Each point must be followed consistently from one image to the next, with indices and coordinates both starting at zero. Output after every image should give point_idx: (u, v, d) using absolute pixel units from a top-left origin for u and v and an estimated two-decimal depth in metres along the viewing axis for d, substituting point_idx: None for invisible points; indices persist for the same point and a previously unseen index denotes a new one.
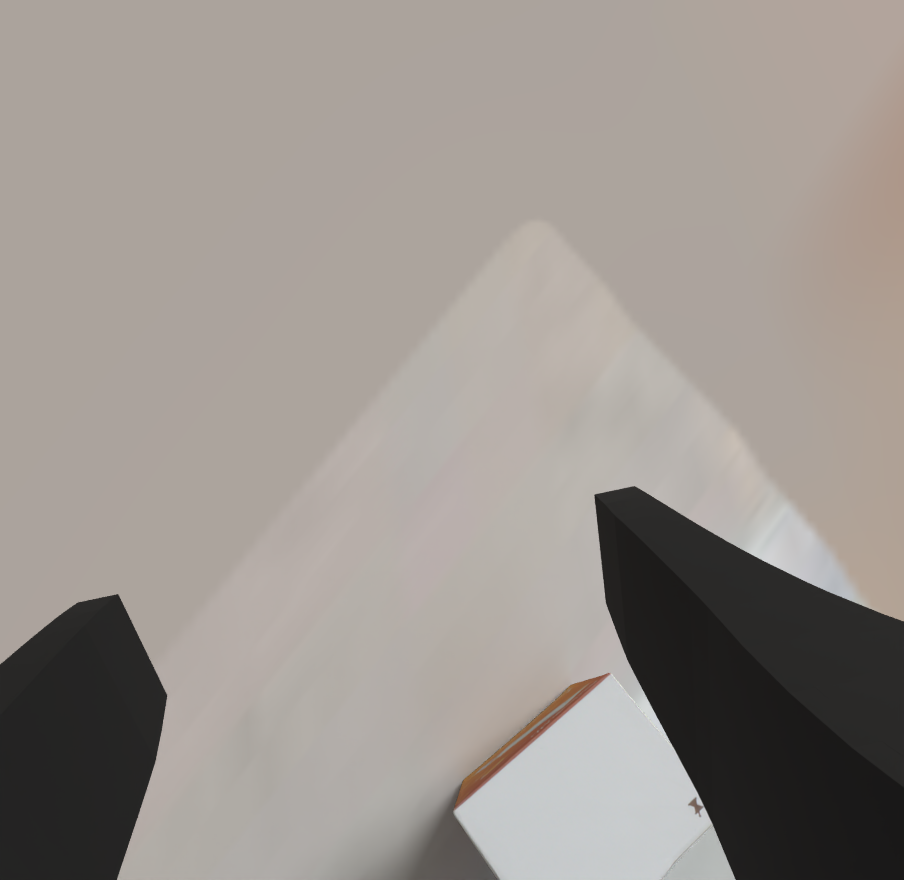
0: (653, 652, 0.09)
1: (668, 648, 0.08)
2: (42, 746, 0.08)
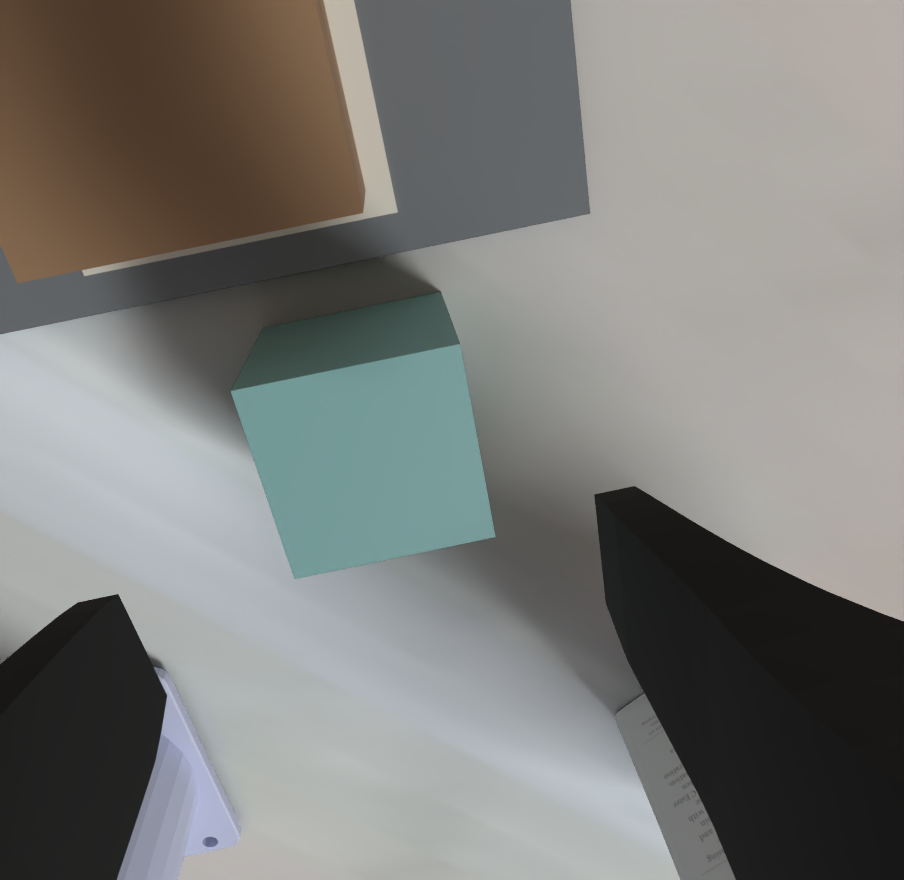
0: (653, 652, 0.09)
1: (668, 648, 0.08)
2: (42, 746, 0.08)
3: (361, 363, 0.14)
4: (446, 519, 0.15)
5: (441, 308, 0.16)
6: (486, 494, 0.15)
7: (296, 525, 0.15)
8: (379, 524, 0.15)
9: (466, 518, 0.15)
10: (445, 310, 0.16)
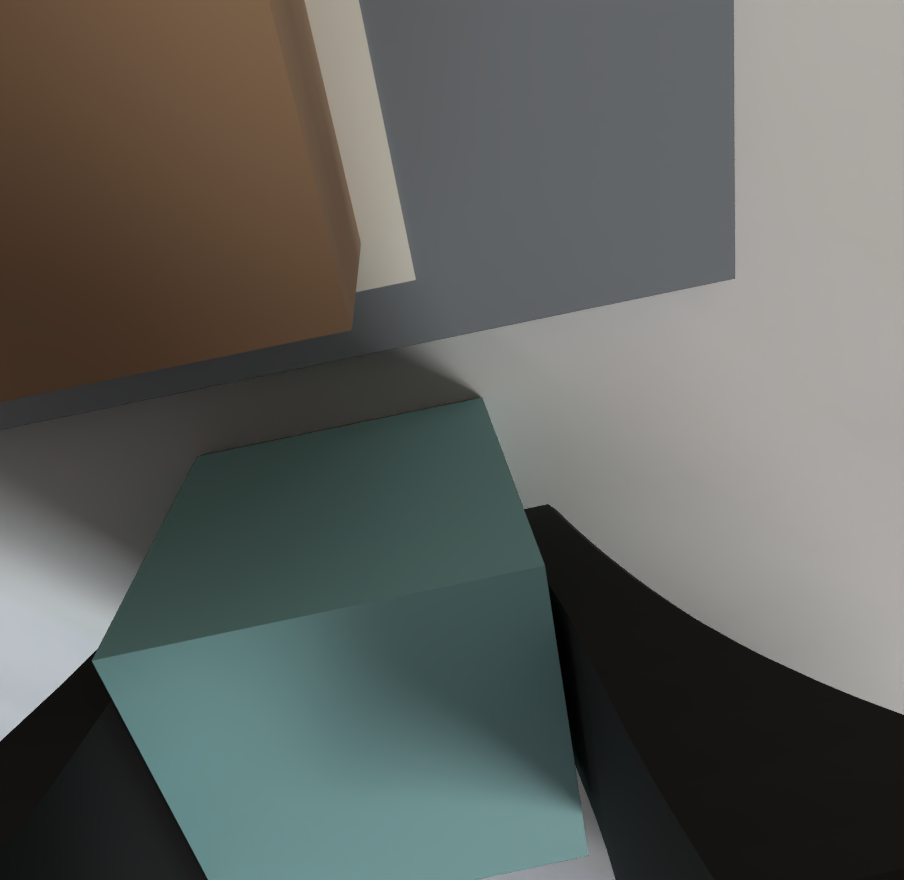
0: None
1: (562, 670, 0.08)
2: None
3: (350, 604, 0.07)
4: (504, 836, 0.09)
5: (490, 445, 0.09)
6: (577, 797, 0.08)
7: (235, 858, 0.08)
8: (385, 849, 0.08)
9: (539, 832, 0.09)
10: (498, 451, 0.09)
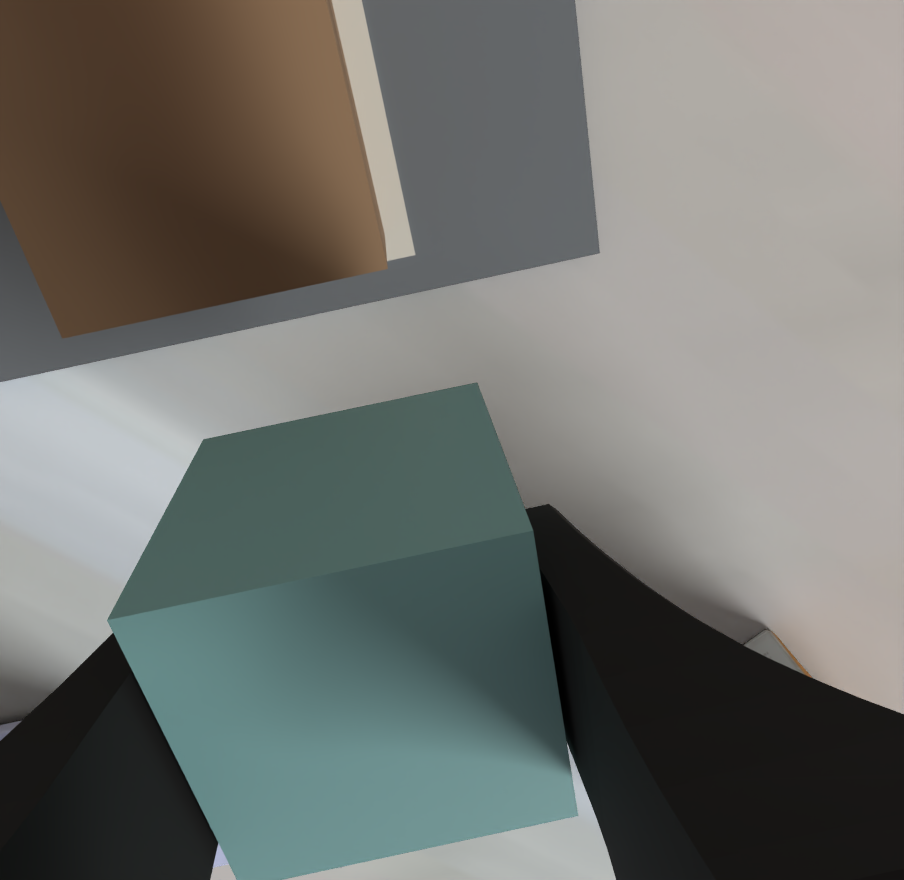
0: None
1: (563, 670, 0.08)
2: (151, 723, 0.08)
3: (351, 567, 0.07)
4: (497, 795, 0.09)
5: (483, 425, 0.10)
6: (567, 758, 0.09)
7: (240, 815, 0.09)
8: (383, 807, 0.09)
9: (531, 792, 0.09)
10: (491, 430, 0.10)
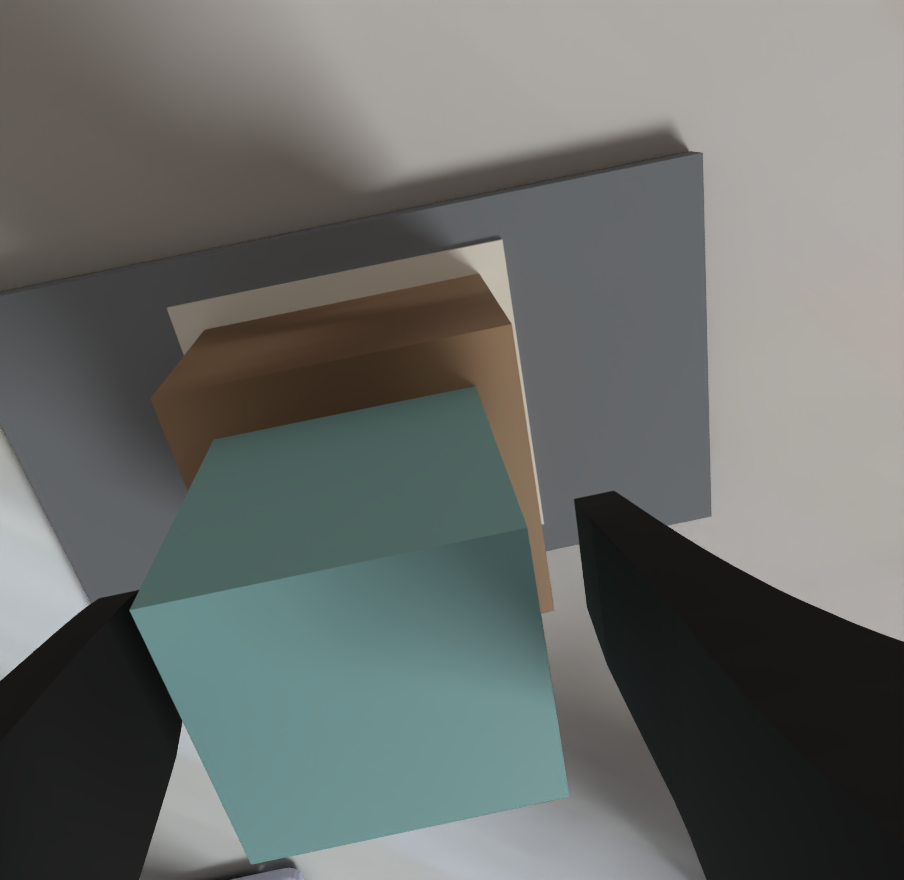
0: (630, 657, 0.09)
1: (643, 653, 0.08)
2: (68, 741, 0.08)
3: (356, 561, 0.08)
4: (493, 777, 0.09)
5: (481, 427, 0.10)
6: (558, 742, 0.09)
7: (251, 795, 0.09)
8: (386, 788, 0.09)
9: (525, 774, 0.10)
10: (489, 432, 0.10)
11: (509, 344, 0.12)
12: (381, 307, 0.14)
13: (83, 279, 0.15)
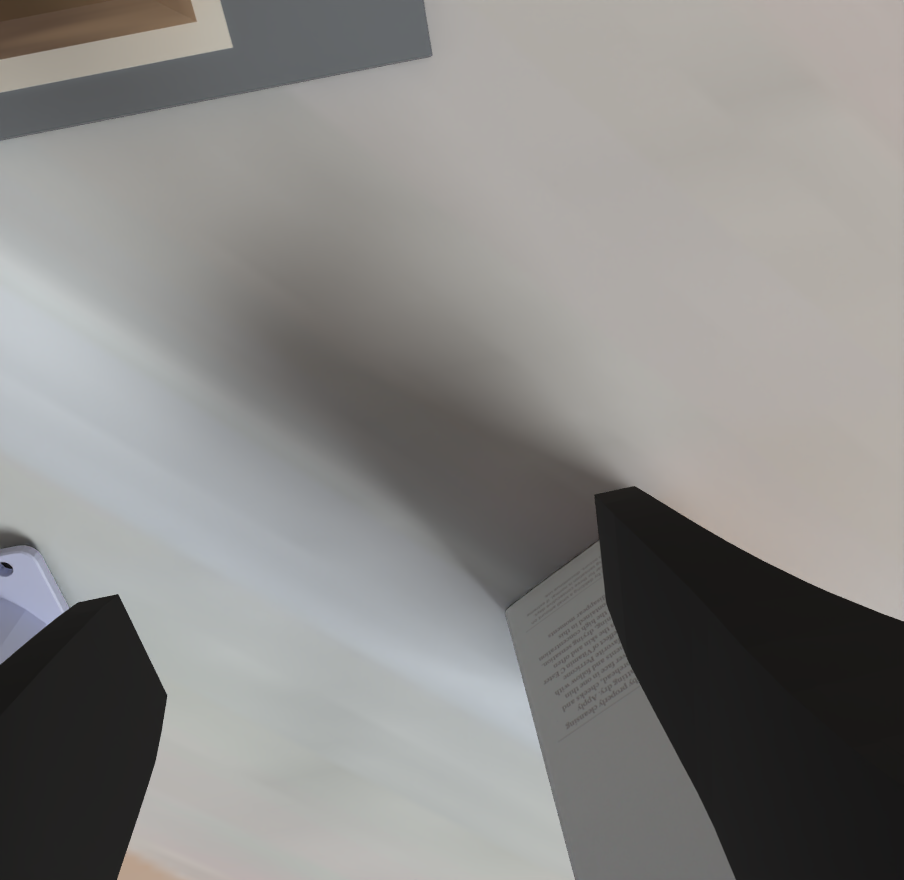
0: (653, 652, 0.09)
1: (668, 648, 0.08)
2: (42, 746, 0.08)
3: None
4: None
5: None
6: None
7: None
8: None
9: None
10: None
11: None
12: None
13: None
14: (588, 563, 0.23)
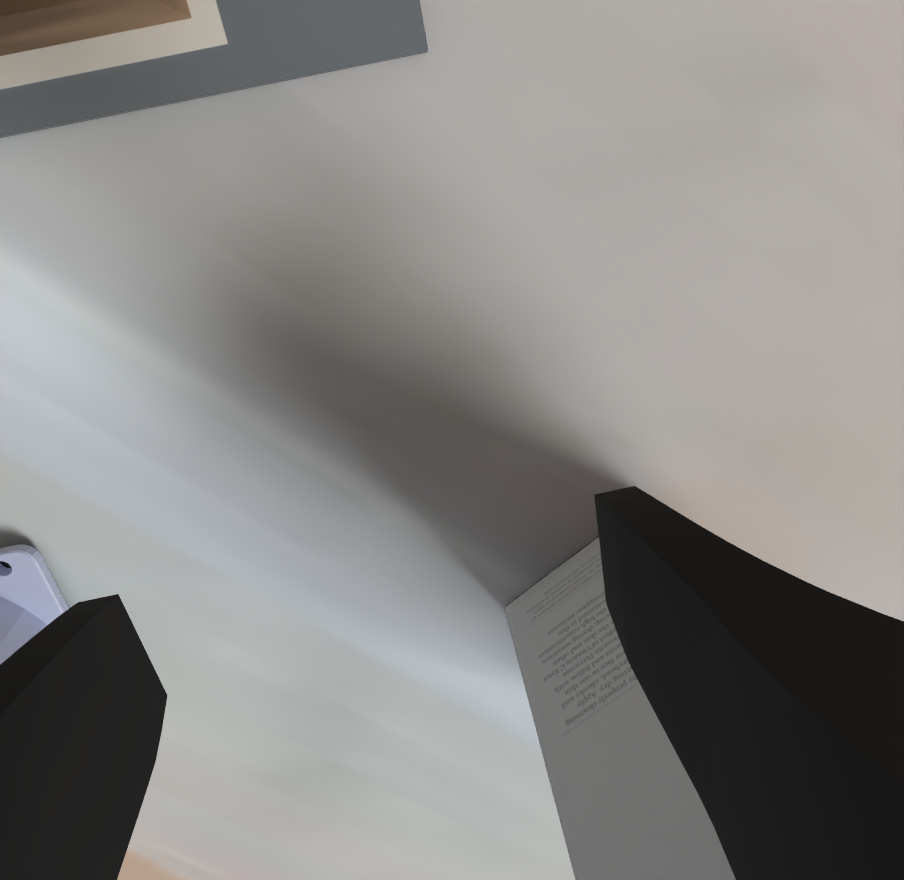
0: (653, 652, 0.09)
1: (668, 648, 0.08)
2: (42, 746, 0.08)
3: None
4: None
5: None
6: None
7: None
8: None
9: None
10: None
11: None
12: None
13: None
14: (587, 560, 0.23)
